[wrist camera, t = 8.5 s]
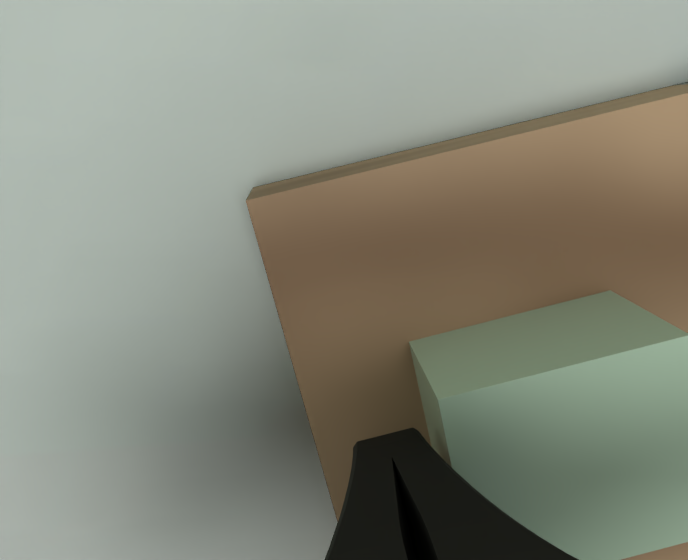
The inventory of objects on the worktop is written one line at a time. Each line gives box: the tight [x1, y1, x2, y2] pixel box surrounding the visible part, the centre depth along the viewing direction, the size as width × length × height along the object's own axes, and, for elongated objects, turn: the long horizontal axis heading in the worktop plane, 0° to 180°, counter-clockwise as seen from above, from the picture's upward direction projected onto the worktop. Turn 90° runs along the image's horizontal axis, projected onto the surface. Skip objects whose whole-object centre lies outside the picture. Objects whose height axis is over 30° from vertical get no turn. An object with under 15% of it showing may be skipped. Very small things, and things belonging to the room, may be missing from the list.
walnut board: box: [246, 84, 688, 560], centre depth 15 cm, size 20×10×2 cm, turn 13°
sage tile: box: [409, 290, 688, 560], centre depth 11 cm, size 4×4×2 cm
